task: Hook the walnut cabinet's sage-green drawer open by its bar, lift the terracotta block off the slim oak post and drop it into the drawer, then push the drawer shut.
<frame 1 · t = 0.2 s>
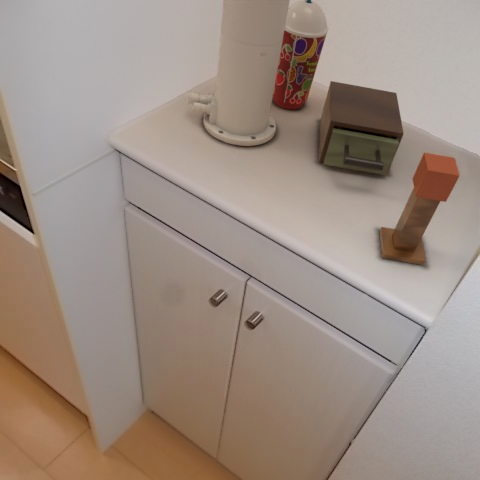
drawer: (359, 141, 86), point 4 cm above the worktop, slide at 0.5 cm
block: (428, 190, 68), point 10 cm above the worktop, touching stand
cabinet: (352, 147, 92), on the worktop
stand: (401, 247, 75), on the worktop
smoothie: (287, 103, 99), on the worktop
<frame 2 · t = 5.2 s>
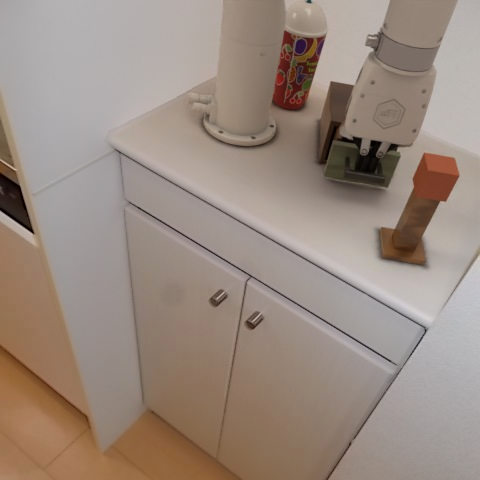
hand: (362, 174, 80), 4 cm above the worktop, tool pointing down, fingers closed
drawer: (360, 153, 83), point 4 cm above the worktop, slide at 4.0 cm, touching gripper
everything else where it was.
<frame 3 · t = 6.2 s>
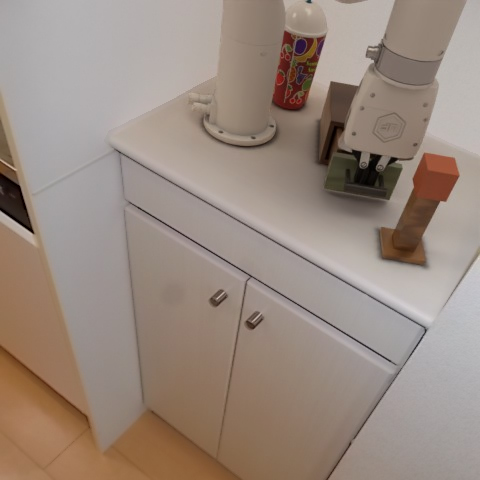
hand: (361, 187, 78), 3 cm above the worktop, tool pointing down, fingers closed
drawer: (361, 164, 81), point 4 cm above the worktop, slide at 7.3 cm
everything else where it was.
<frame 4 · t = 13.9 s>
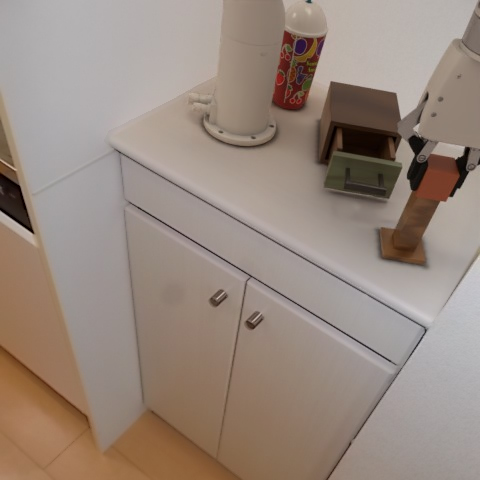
hand: (430, 186, 67), 11 cm above the worktop, tool pointing down, fingers closed on block, 4 cm apart
drawer: (361, 163, 82), point 4 cm above the worktop, slide at 7.0 cm
block: (428, 190, 68), point 10 cm above the worktop, touching gripper, stand
everything else where it was.
when the fingers open (6 cm above the worktop, at t = 21.3 s): block stays where it is, resting on drawer.
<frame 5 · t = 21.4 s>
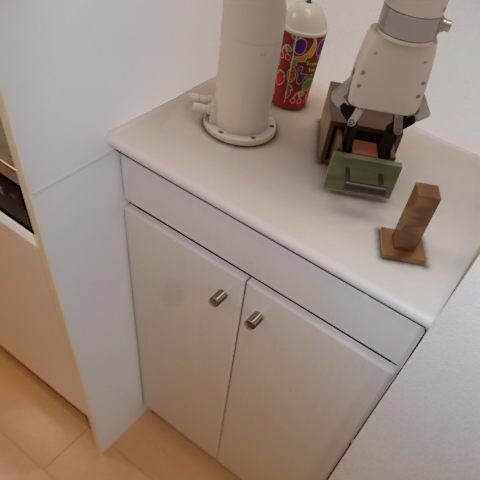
hand: (365, 148, 80), 6 cm above the worktop, tool pointing down, fingers open, 4 cm apart
drawer: (361, 163, 82), point 4 cm above the worktop, slide at 6.9 cm, touching block, gripper
block: (357, 170, 83), point 2 cm above the worktop, touching drawer
everything else where it was.
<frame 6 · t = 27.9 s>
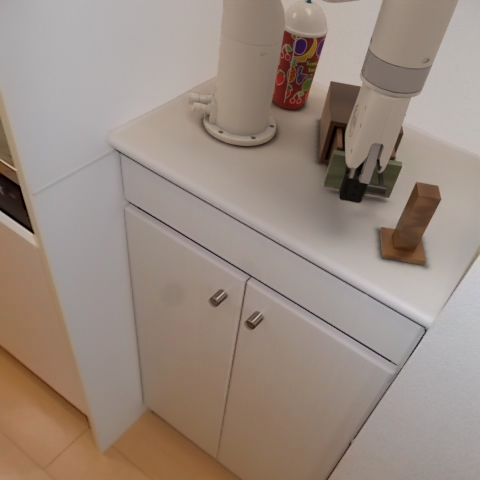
hand: (349, 197, 75), 4 cm above the worktop, tool pointing down, fingers closed
nothing on the worktop moved.
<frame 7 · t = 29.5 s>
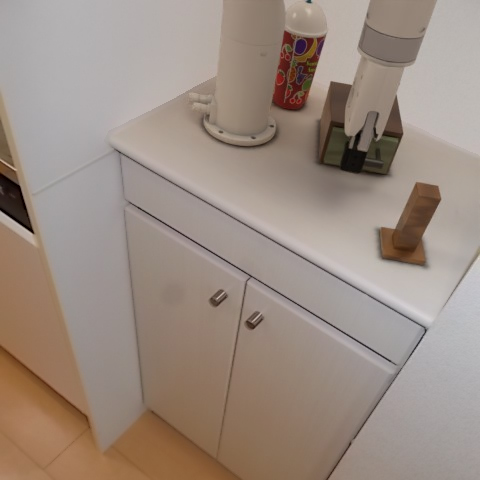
hand: (350, 169, 79), 4 cm above the worktop, tool pointing down, fingers closed
drawer: (359, 139, 86), point 4 cm above the worktop, slide at 0.0 cm, touching block, cabinet, gripper
block: (355, 146, 88), point 2 cm above the worktop, touching drawer
everything else where it was.
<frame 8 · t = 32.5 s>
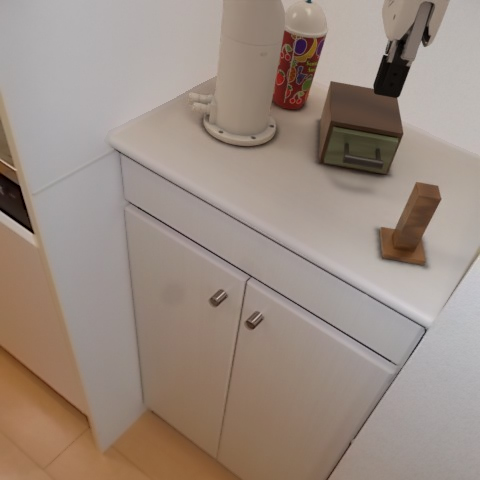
hand: (385, 92, 64), 19 cm above the worktop, tool pointing down, fingers closed
drawer: (359, 139, 86), point 4 cm above the worktop, slide at 0.0 cm, touching block
everything else where it was.
at the end: drawer pulled out 7.3 cm at the most during the clip, back to where it started at the end; block inside the target area in the cabinet (2.8 cm from its centre), point 2.0 cm above the cabinet's base; drawer slide at 0.0 cm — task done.
